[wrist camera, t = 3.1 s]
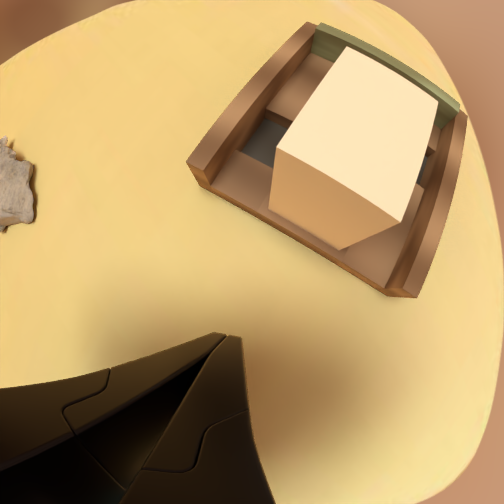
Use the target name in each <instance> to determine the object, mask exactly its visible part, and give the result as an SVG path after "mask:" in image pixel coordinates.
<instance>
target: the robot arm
mask: <svg viewBox="0 0 504 504" xmlns="http://www.w3.org/2000/svg"><path fill="white" fill-rule="evenodd" d="M0 504H276V503H275V500H274V498H273V495H272V492H271V490H270V487H269V484H268V482H267V479H266V476H265V473H264V470H263V467H262V465H261V462H260V458H259V455H258V452H257V448H256V445H255V441H254V435H253V430H252V424H251V415H250V409H249V400H248V391H247V382H246V372H245V363H244V353H243V343H242V338H241V337H238V336H232V335H228V336H227V335H226V334H221V333H216V332H213V333H210V334H208V335H205V336H203V337H200V338H197V339H194V340H192V341H189V342H186V343H184V344H181V345H178V346H175V347H172V348H170V349H167V350H164V351H161V352H158V353H155V354H152V355H149V356H146V357H143V358H140V359H137V360H134V361H131V362H128V363H125V364H121V365H118V366H115V367H112V368H111V370H110V369H109V368H107V369H104V370H100V371H97V372H93V373H89V374H86V375H82V376H78V377H73V378H68V379H63V380H58V381H52V382H46V383H39V384H33V385H26V386H18V387H10V388H1V389H0Z"/></svg>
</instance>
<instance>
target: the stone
mask: <svg viewBox="0 0 504 504" xmlns="http://www.w3.org/2000/svg"><path fill="white" fill-rule="evenodd" d="M7 141H8V140H7V137H6V136H4V137H3V138H2V139H1V140H0V232H2V231H3V230H4V229H5V226H7V225H11V224H17V223H26V224H27V223H30V222H32V220H33V216H34V212H33V207H32V205H33V201H34V199H33V193H32V191H31V190H30V187H29V182H30V178H31V177H32V174H33V168H34V165H32V163H31V162H29V161H26V160H24V161H18V160H16V152H15V151H13V150H12V149H10V148H9V147H7Z"/></svg>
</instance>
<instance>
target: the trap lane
mask: <svg viewBox="0 0 504 504" xmlns="http://www.w3.org/2000/svg"><path fill="white" fill-rule="evenodd" d="M346 47H349V48H351V49H353V50H355V51H357V52H359V53H361V54H363V55H365V56H367V57H369V58H371V59H373V60H375V61H376V62H378V63H380V64H382V65H384V66H385V67H387V68H389V69H390V70H392V71H394V72H395V73H397V74H399V75H400V76H402V77H404V78H405V79H407V80H408V81H410V82H411V83H413V84H414V85H416V86H417V87H419V88H420V89H422V90H423V91H424V92H426V93H427V94H429V95H430V96H431V97H433V98H434V99H435V100H437V101H438V106H437V110H436V115H435V119H434V123H433V127H432V131H431V134H430V138H429V142H428V145H427V149H426V152H425V155H424V159H423V162H422V165H421V168H420V171H419V174H418V177H417V180H416V183H415V186H414V189H413V192H412V194H411V197H410V200H409V202H408V205H407V208H406V210H405V213H404V215H403V218H402V220H401V223H398V224H396V225H394V226H392V227H390V228H388V229H385V230H383V231H381V232H379V233H377V234H375V235H372V236H370V237H368V238H366V239H363V240H361V241H359V242H357V243H354V244H352V245H350V246H348V247H345V248H343V249H341V250H339V251H338V250H337V249H335V248H334V247H332V246H330V245H329V244H327V243H325V242H324V241H322V240H320V239H319V238H317V237H315V236H314V235H312V234H310V233H309V232H307V231H305V230H304V229H302V228H300V227H298V226H297V225H295V224H293V223H292V222H290V221H288V220H286V219H285V218H283V217H281V216H280V215H278V214H276V213H274V212H273V211H271V210H269V209H268V207H269V199H270V192H271V184H272V176H273V169H274V161H275V153H276V147H277V145H278V144H279V142H280V141H281V139H282V138H283V136H284V135H285V133H286V132H287V130H288V129H289V127H290V126H291V124H292V123H293V121H294V120H295V119H296V117H297V116H298V114H299V113H300V111H301V110H302V108H303V107H304V105H305V104H306V103H307V101H308V100H309V98H310V97H311V95H312V94H313V93H314V91H315V90H316V88H317V87H318V85H319V84H320V83H321V81H322V80H323V78H324V77H325V76H326V74H327V73H328V71H329V70H330V69H331V67H332V66H333V64H334V63H335V62H336V60H337V59H338V58H339V56H340V55H341V54H342V52H343V51H344V49H345V48H346ZM459 108H460V104H459V103H458V102H457V101H456V100H455V99H453V98H452V97H451V96H450V95H448V94H447V93H446V92H444V91H443V90H442V89H440V88H439V87H438V86H436V85H435V84H434V83H432V82H431V81H429V80H428V79H427V78H425V77H424V76H422V75H421V74H419V73H418V72H416V71H415V70H413V69H412V68H410V67H409V66H407V65H405V64H404V63H402V62H401V61H399V60H397V59H396V58H394V57H392V56H390V55H389V54H387V53H385V52H383V51H381V50H380V49H378V48H376V47H374V46H372V45H370V44H368V43H366V42H364V41H362V40H360V39H358V38H356V37H354V36H352V35H350V34H347V33H345V32H343V31H341V30H338V29H336V28H334V27H331V26H329V25H326V24H324V23H320V24H319V25H318V26H317V25H315V24H312V23H309V22H306V23H305V24H304V25H303V26H302V27H301V28H300V29H299V30H297V31H296V32H295V33H294V34H293V35H292V36H291V37H290V38H289V39H288V40H287V41H286V42H285V43H284V44H283V45H282V46H281V47H280V48H279V49H278V50H277V51H276V52H275V54H274V55H273V56H272V57H271V58H270V59H269V60H268V61H267V62H266V63H265V64H264V65H263V66H262V67H261V68H260V70H259V71H258V72H257V73H256V74H255V75H254V76H253V77H252V78H251V80H250V81H249V82H248V83H247V84H246V85H245V86H244V88H243V89H242V90H241V91H240V92H239V94H238V95H237V96H236V97H235V98H234V99H233V101H232V102H231V103H230V104H229V106H228V107H227V108H226V109H225V110H224V112H223V113H222V114H221V115H220V117H219V118H218V119H217V121H216V122H215V123H214V124H213V126H212V127H211V128H210V130H209V131H208V132H207V134H206V135H205V136H204V137H203V139H202V140H201V142H200V143H199V144H198V146H197V147H196V148H195V150H194V151H193V152H192V154H191V155H190V157H189V158H188V159H187V161H186V163H187V165H188V166H189V168H190V170H191V172H192V173H193V175H194V177H195V178H196V180H197V182H198V184H199V185H200V186H201V187H203V188H205V189H207V190H209V191H210V192H212V193H214V194H216V195H218V196H219V197H221V198H223V199H225V200H227V201H228V202H230V203H232V204H234V205H236V206H237V207H239V208H241V209H243V210H245V211H246V212H248V213H250V214H252V215H253V216H255V217H257V218H259V219H260V220H262V221H264V222H266V223H267V224H269V225H271V226H273V227H274V228H276V229H278V230H279V231H281V232H283V233H285V234H286V235H288V236H290V237H291V238H293V239H295V240H297V241H298V242H300V243H302V244H303V245H305V246H307V247H308V248H310V249H312V250H313V251H315V252H317V253H318V254H320V255H322V256H323V257H325V258H327V259H328V260H330V261H332V262H333V263H335V264H337V265H338V266H340V267H342V268H343V269H345V270H346V271H348V272H350V273H351V274H353V275H355V276H356V277H358V278H359V279H361V280H363V281H364V282H366V283H367V284H369V285H371V286H372V287H374V288H375V289H377V290H378V291H380V292H382V293H383V294H385V295H386V296H390V297H405V298H417V297H418V295H419V293H420V290H421V288H422V286H423V283H424V281H425V279H426V276H427V274H428V271H429V269H430V266H431V263H432V261H433V258H434V255H435V253H436V250H437V247H438V244H439V241H440V238H441V235H442V232H443V229H444V226H445V223H446V219H447V216H448V213H449V209H450V206H451V202H452V198H453V194H454V190H455V186H456V182H457V177H458V173H459V168H460V163H461V158H462V152H463V146H464V140H465V133H466V126H467V117H468V116H467V115H466V114H465V113H464V112H462V111H461V110H460V109H459Z"/></svg>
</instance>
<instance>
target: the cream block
mask: <svg viewBox="0 0 504 504" xmlns="http://www.w3.org/2000/svg"><path fill="white" fill-rule="evenodd" d="M437 106H438V101H437V100H435V99H434V98H433V97H431V96H430V95H429V94H427V93H426V92H424V91H423V90H422V89H420V88H419V87H417V86H416V85H414V84H413V83H411V82H410V81H408V80H407V79H405V78H404V77H402V76H400V75H399V74H397V73H395V72H394V71H392V70H390V69H389V68H387V67H385V66H384V65H382V64H380V63H378V62H376V61H375V60H373V59H371V58H369V57H367V56H365V55H363V54H361V53H359V52H357V51H355V50H353V49H351V48H349V47H346V48H345V49H344V51H343V52H342V54H341V55H340V56H339V58H338V59H337V60H336V62H335V63H334V64H333V66H332V67H331V69H330V70H329V71H328V73H327V74H326V76H325V77H324V78H323V80H322V81H321V83H320V84H319V85H318V87H317V88H316V90H315V91H314V93H313V94H312V95H311V97H310V98H309V100H308V101H307V103H306V104H305V105H304V107H303V108H302V110H301V111H300V113H299V114H298V116H297V117H296V119H295V120H294V121H293V123H292V124H291V126H290V127H289V129H288V130H287V132H286V133H285V135H284V136H283V138H282V139H281V141H280V142H279V144H278V145H277V147H276V153H275V161H274V169H273V176H272V184H271V192H270V199H269V207H268V209H269V210H271V211H273V212H274V213H276V214H278V215H280V216H281V217H283V218H285V219H286V220H288V221H290V222H292V223H293V224H295V225H297V226H298V227H300V228H302V229H304V230H305V231H307V232H309V233H310V234H312V235H314V236H315V237H317V238H319V239H320V240H322V241H324V242H325V243H327V244H329V245H330V246H332V247H334V248H335V249H337V250H338V251H339V250H341V249H343V248H345V247H348V246H350V245H352V244H354V243H357V242H359V241H361V240H363V239H366V238H368V237H370V236H372V235H375V234H377V233H379V232H381V231H383V230H385V229H388V228H390V227H392V226H394V225H396V224H398V223H401V220H402V218H403V215H404V213H405V210H406V208H407V205H408V202H409V200H410V197H411V194H412V192H413V189H414V186H415V183H416V180H417V177H418V174H419V171H420V168H421V165H422V162H423V159H424V155H425V152H426V149H427V145H428V142H429V138H430V134H431V131H432V127H433V123H434V119H435V115H436V110H437Z"/></svg>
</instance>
